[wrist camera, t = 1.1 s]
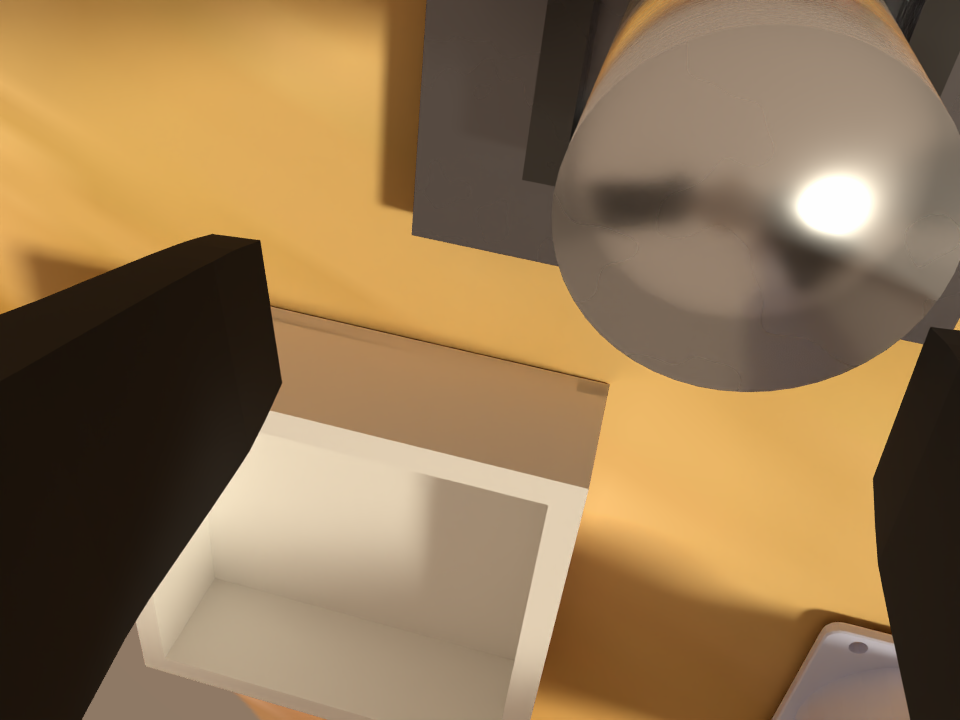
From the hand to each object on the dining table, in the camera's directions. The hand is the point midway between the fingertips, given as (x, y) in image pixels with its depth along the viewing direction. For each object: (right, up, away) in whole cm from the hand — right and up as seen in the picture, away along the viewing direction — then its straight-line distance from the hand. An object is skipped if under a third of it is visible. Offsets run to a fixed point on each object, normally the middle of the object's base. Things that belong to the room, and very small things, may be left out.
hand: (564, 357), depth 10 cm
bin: (-4, -4, +17) cm, 18 cm away
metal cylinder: (+4, +6, +6) cm, 10 cm away
